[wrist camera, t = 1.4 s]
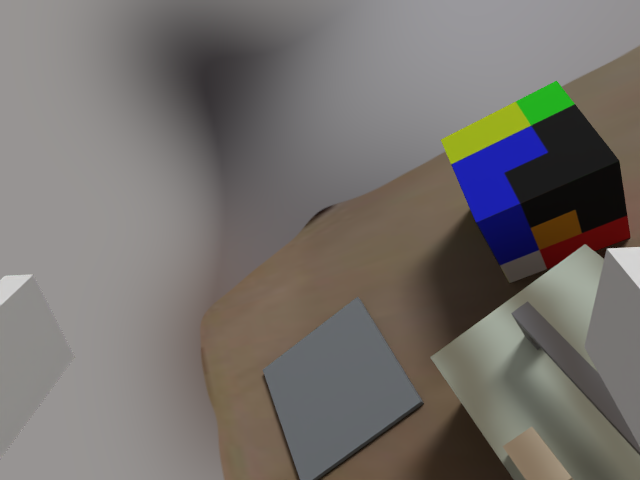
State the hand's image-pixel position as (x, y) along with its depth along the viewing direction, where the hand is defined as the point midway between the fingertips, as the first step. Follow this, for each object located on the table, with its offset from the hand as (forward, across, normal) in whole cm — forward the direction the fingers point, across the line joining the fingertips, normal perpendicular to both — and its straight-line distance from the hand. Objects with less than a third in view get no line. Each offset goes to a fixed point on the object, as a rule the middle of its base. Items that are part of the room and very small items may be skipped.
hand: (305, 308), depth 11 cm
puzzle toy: (+31, +17, -16) cm, 39 cm away
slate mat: (+23, -3, -28) cm, 37 cm away
